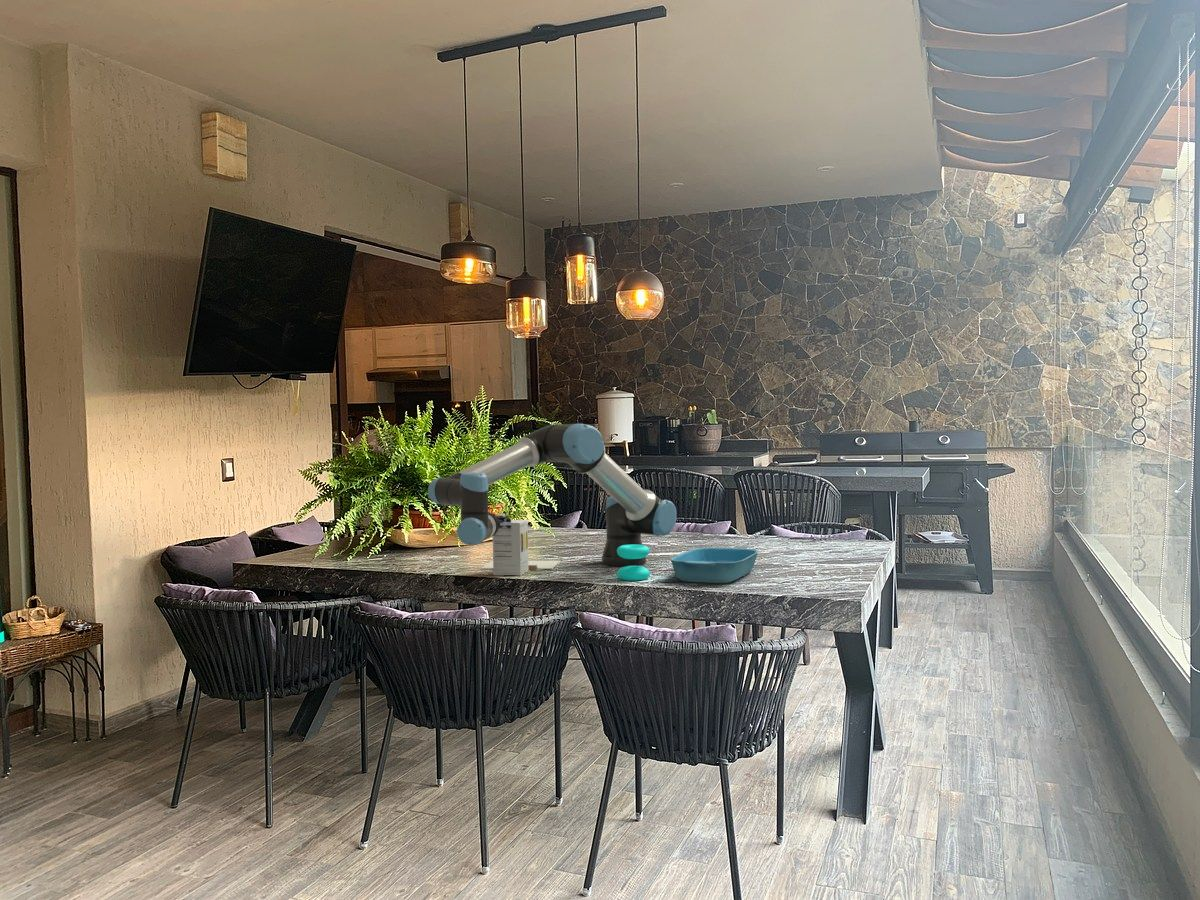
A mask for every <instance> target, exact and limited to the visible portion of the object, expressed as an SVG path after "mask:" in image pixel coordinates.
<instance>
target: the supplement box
mask: <svg viewBox="0 0 1200 900" xmlns="http://www.w3.org/2000/svg"><path fill="white" fill-rule="evenodd" d="M528 523H529V520H527V519H511V528H507V527H502V528H499V530H498V532H497V533H496V534H495V535H494V536H493V537H492V561H493V569H492V570H493V576H503V575H521V576H523V575H524V574H523V573H525V572H526V573H528V572H529V570H528V561H529V533H528V532H529V531H528V529H529V526H528V525H529V524H528ZM527 571H528V572H527ZM526 573H525V574H526ZM522 574H523V575H522Z"/></svg>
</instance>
